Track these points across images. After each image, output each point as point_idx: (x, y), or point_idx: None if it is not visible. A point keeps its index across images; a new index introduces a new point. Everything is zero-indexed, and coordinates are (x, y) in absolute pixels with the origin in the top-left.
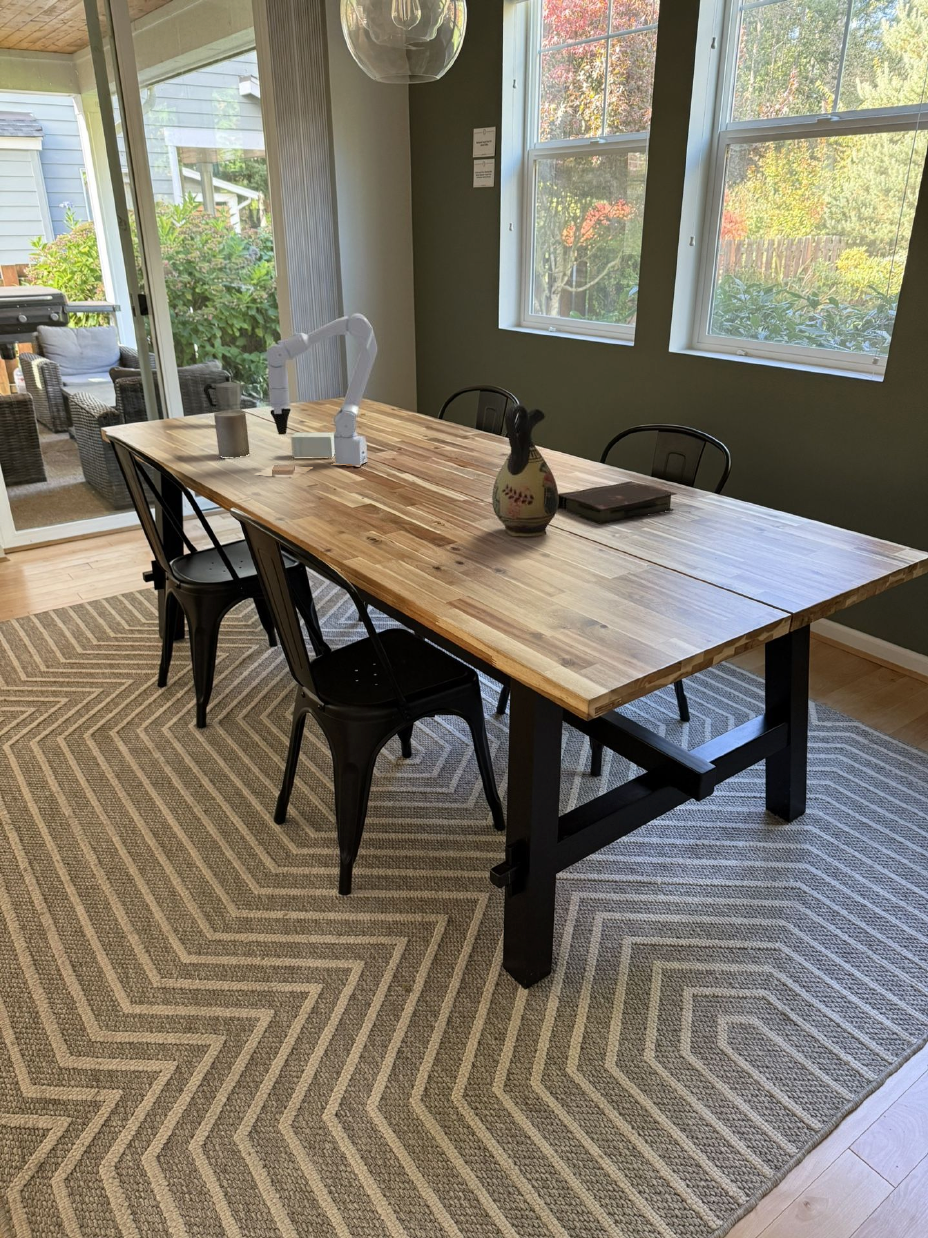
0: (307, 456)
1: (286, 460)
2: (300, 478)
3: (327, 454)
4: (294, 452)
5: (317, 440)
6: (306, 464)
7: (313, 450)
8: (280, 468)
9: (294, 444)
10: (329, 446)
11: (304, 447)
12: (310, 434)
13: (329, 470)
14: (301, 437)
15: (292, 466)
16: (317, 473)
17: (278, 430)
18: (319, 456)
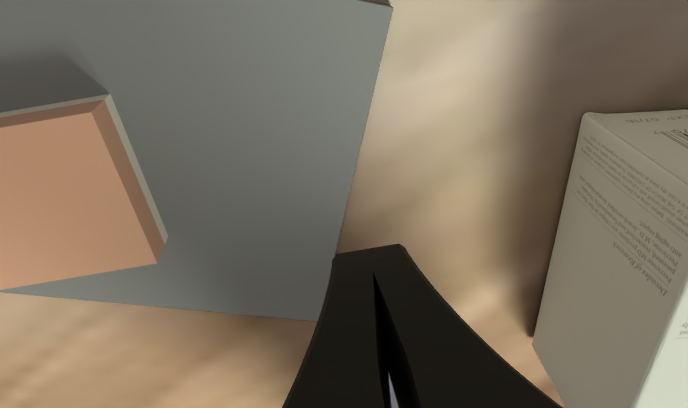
0: (568, 227)
1: (566, 63)
2: (19, 298)
3: (547, 348)
4: (606, 152)
5: (613, 383)
6: (418, 238)
7: (578, 295)
8: (1, 196)
9: (647, 191)
10: (569, 405)
11: (606, 254)
12: None
13: (268, 382)
14: (674, 294)
15: (108, 259)
16: (180, 348)
17: (325, 300)
18: (550, 297)
